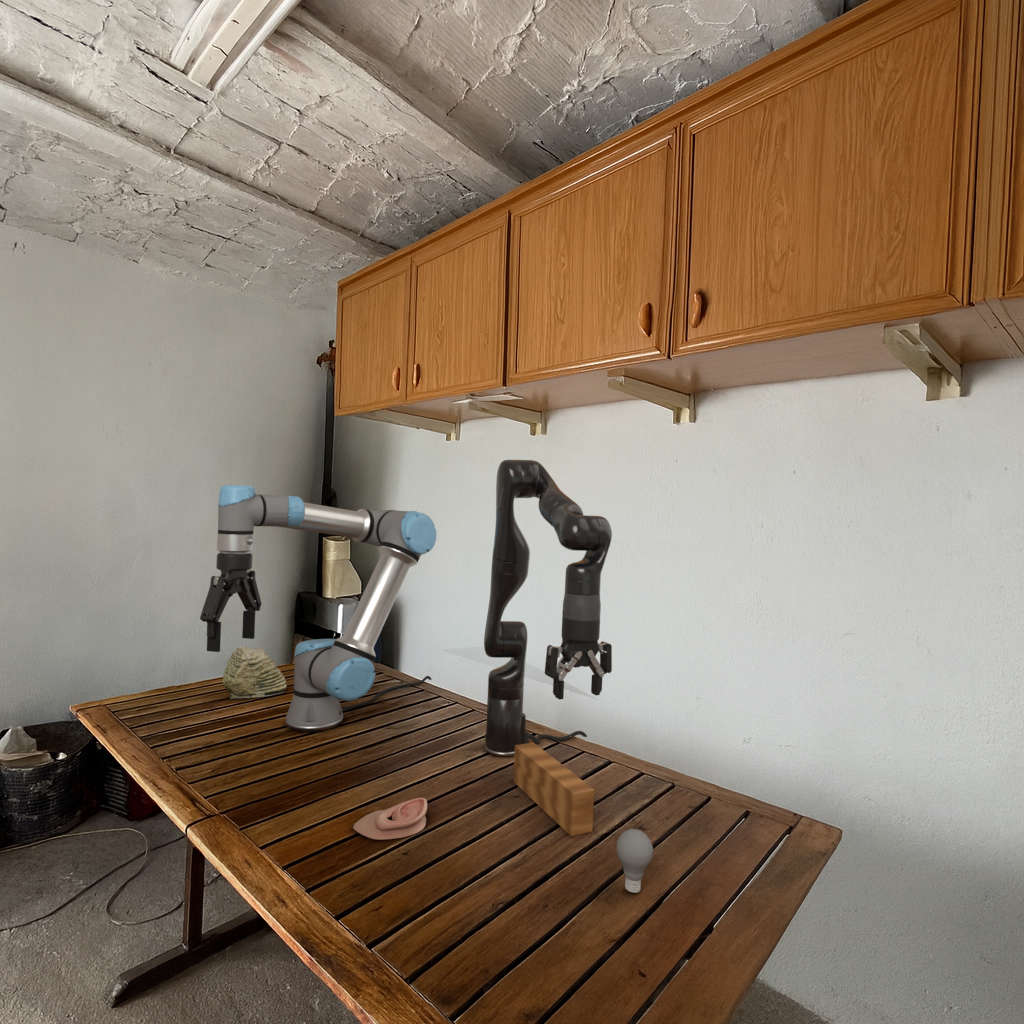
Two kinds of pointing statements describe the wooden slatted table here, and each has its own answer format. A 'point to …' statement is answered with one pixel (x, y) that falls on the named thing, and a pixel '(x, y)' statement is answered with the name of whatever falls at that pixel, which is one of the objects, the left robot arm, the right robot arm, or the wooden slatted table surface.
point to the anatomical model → (394, 821)
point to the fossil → (252, 674)
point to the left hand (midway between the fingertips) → (231, 644)
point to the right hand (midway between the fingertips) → (577, 696)
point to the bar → (554, 788)
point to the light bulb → (634, 857)
